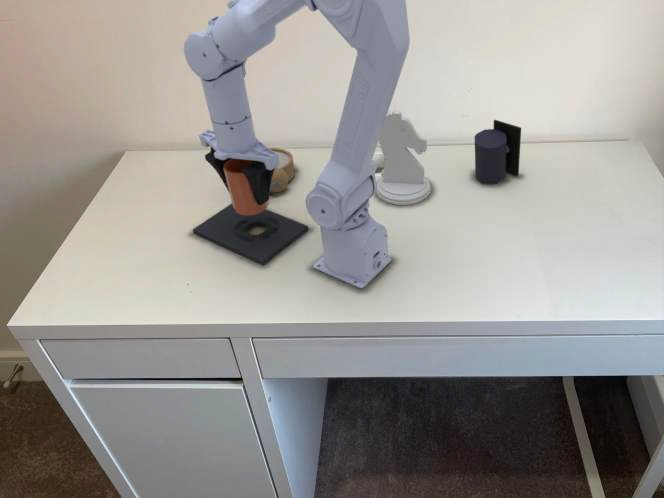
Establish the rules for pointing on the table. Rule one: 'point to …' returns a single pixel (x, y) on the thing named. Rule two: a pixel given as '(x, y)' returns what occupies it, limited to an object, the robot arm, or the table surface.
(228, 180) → the cup
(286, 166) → the alarm clock
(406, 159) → the chess piece
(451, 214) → the table surface
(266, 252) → the drain mat
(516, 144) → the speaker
